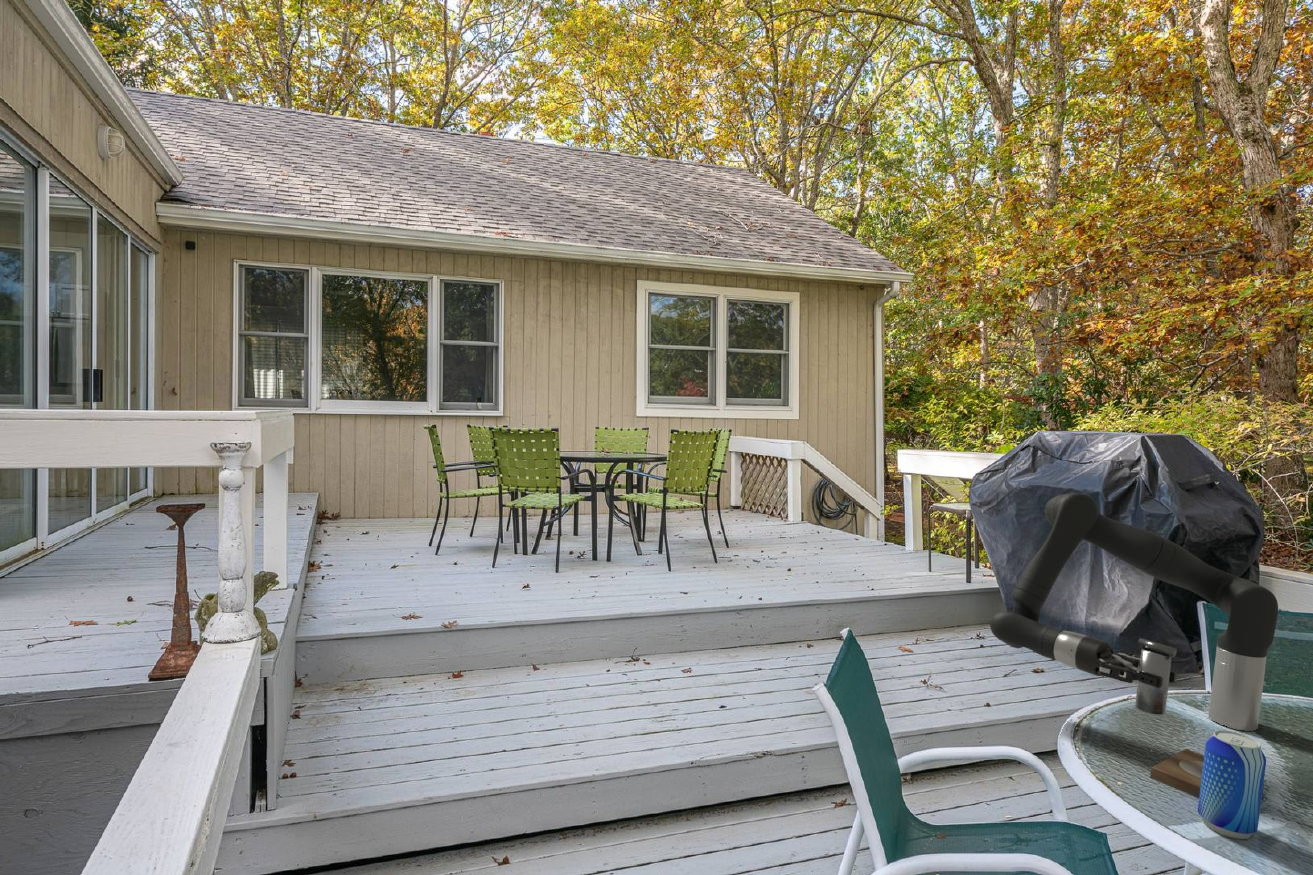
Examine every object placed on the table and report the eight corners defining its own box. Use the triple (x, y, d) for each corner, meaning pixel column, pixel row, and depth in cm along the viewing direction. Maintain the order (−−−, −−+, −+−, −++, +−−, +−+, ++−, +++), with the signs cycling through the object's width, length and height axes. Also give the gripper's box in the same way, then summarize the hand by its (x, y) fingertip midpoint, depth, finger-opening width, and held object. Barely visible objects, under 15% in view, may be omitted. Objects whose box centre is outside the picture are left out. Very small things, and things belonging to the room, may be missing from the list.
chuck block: (1185, 757, 159) (1186, 747, 159) (1254, 784, 150) (1256, 774, 149) (1150, 777, 150) (1151, 766, 150) (1222, 807, 140) (1223, 795, 140)
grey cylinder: (1139, 700, 161) (1146, 636, 160) (1173, 712, 156) (1180, 646, 155) (1127, 705, 158) (1134, 640, 157) (1161, 717, 153) (1169, 650, 152)
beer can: (1185, 813, 138) (1195, 726, 136) (1228, 813, 138) (1239, 727, 137) (1223, 841, 129) (1234, 750, 128) (1269, 841, 130) (1281, 750, 129)
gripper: (1066, 640, 164) (1154, 668, 150) (1100, 630, 172) (1186, 656, 158) (1063, 674, 164) (1150, 705, 150) (1097, 663, 172) (1182, 691, 158)
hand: (1168, 680), depth 154 cm, fingers closed on grey cylinder, 5 cm apart
